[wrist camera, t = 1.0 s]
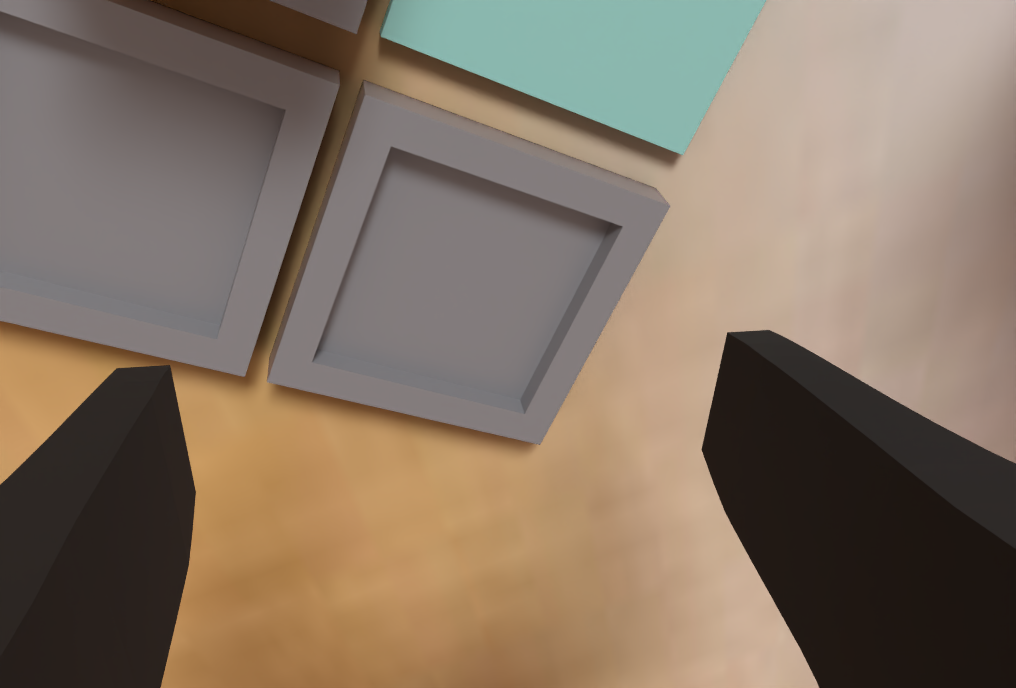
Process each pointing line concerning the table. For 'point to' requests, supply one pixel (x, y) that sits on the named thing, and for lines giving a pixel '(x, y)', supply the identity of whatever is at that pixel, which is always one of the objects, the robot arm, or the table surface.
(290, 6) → the tray
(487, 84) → the table surface
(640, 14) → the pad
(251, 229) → the tray
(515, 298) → the tray
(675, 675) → the table surface
